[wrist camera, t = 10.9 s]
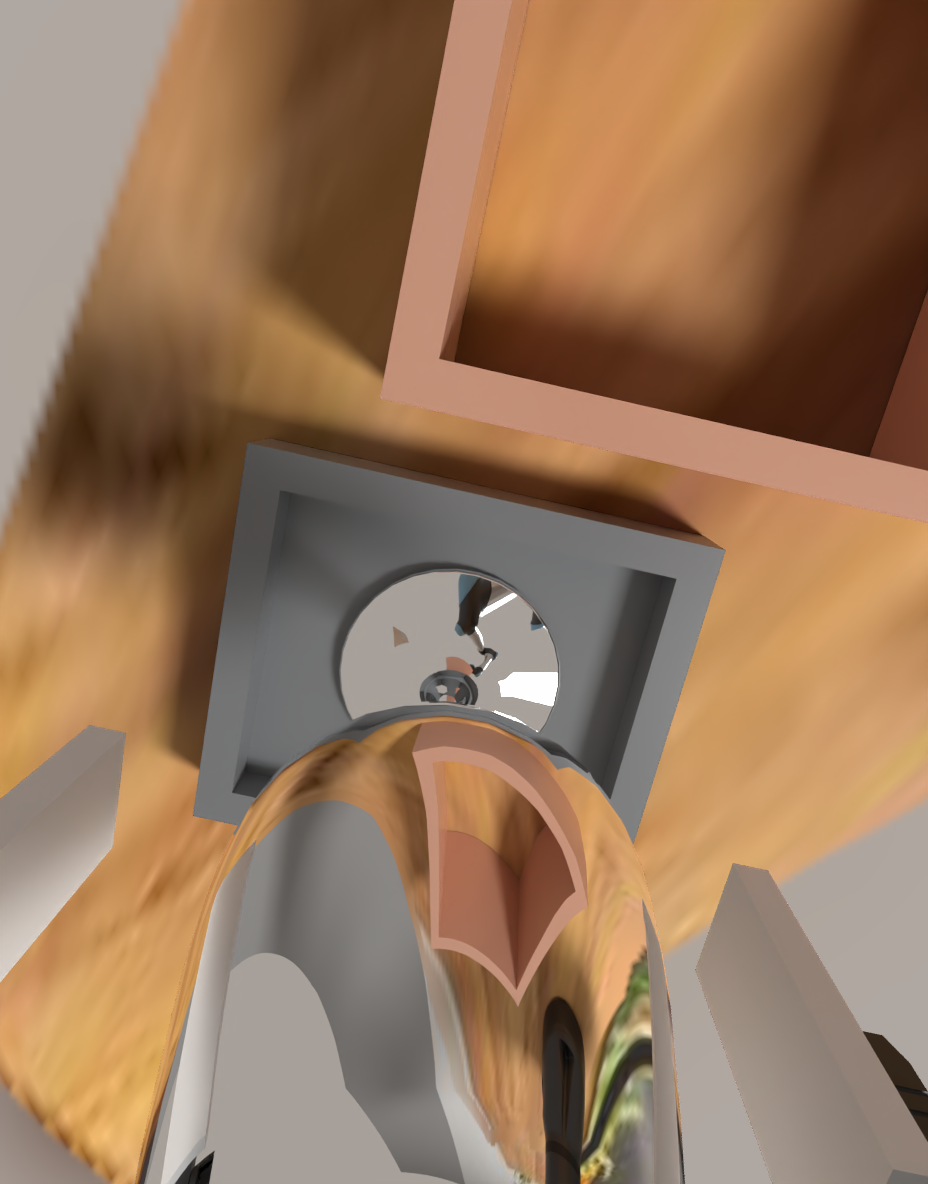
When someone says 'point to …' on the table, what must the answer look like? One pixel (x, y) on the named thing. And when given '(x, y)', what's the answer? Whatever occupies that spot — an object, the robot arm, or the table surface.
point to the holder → (435, 382)
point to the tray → (441, 541)
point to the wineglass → (426, 938)
